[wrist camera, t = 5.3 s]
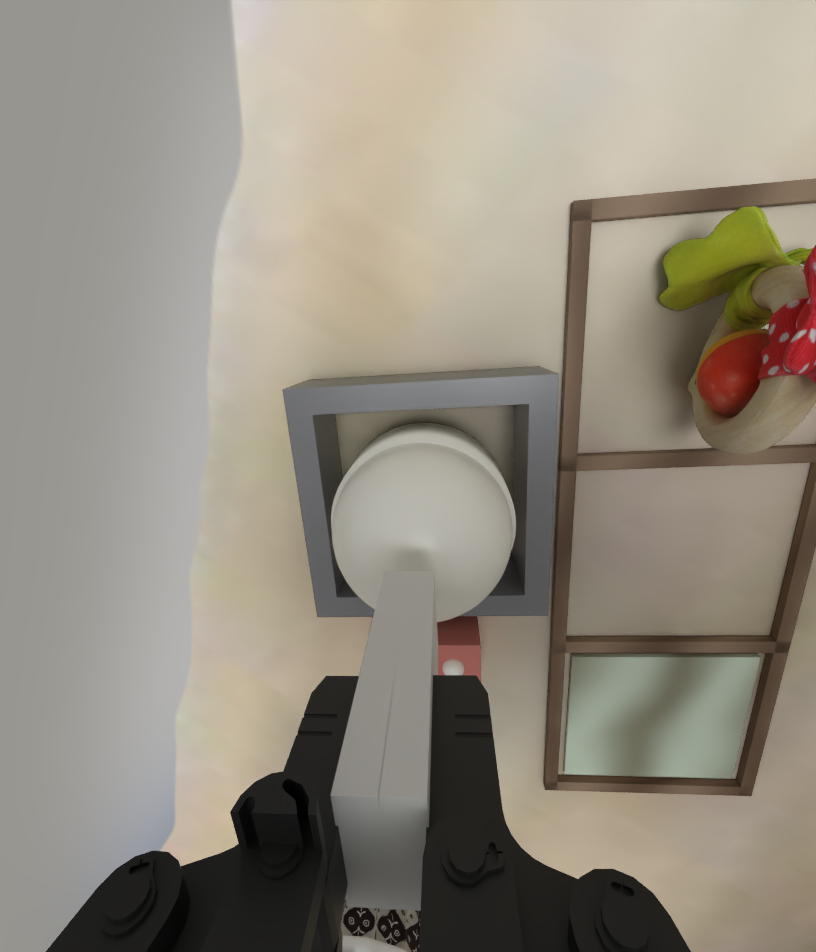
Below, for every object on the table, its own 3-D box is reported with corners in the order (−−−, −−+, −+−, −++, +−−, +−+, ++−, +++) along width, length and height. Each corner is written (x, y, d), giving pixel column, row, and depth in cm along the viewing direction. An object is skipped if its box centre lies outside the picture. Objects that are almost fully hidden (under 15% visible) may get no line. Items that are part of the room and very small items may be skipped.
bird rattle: (739, 379, 23) (846, 177, 17) (892, 538, 15) (1199, 264, 9) (619, 378, 24) (683, 182, 18) (706, 532, 16) (878, 267, 10)
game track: (900, 173, 18) (912, 169, 18) (746, 788, 30) (751, 795, 29) (570, 203, 20) (574, 200, 19) (543, 782, 31) (545, 789, 31)
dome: (505, 416, 21) (538, 462, 13) (504, 565, 23) (532, 671, 16) (339, 424, 21) (287, 472, 14) (356, 567, 24) (318, 670, 17)
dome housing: (539, 366, 22) (569, 377, 17) (530, 656, 28) (550, 732, 22) (308, 379, 23) (269, 394, 18) (345, 655, 29) (323, 728, 23)
